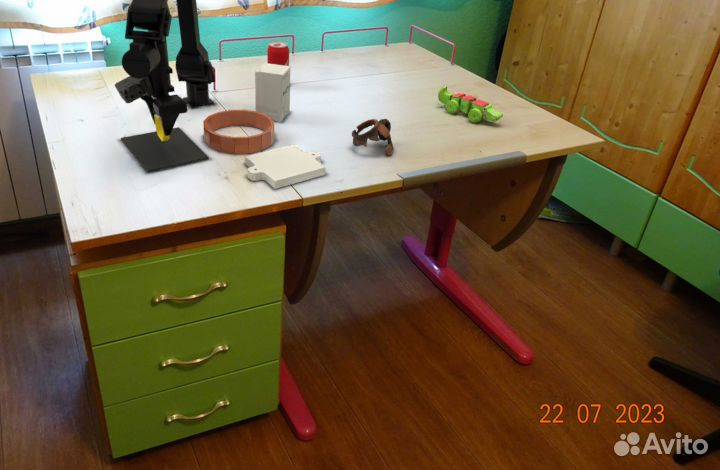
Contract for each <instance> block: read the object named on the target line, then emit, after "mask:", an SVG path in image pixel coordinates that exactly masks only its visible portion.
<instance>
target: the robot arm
mask: <svg viewBox="0 0 720 470" xmlns="http://www.w3.org/2000/svg"><path fill="white" fill-rule="evenodd" d="M168 1H169V0H131V3H130V4H129V6H128V7H127V13H126V15H127V16H126V21H125V22H126V24H125V31H124V32H125V33H124V39H125V40H132V41H130V43H129V46H128V47H129V49H128V50H127V51H125V52H124V54H123V55H122V58H121V66H122V69H123V71H124V72H125V73H126V74H127V75H128V76H127V77H125V78H123V79H121V80H118V81H117V82H116V83H115V84H114V87H115V89H116V91H117V92H118V94H119V96H120V98H121V100H123V101H124V102H125V103H126V104H131V103H133V102H134V101H136V100H138V99H141V100H142V101H143V102H145V104H146V106H147V109H148V111H149V114H150V116H151V119H152V122H153V124H154V125H155V117H154V115H155V114H156V115H158V116H159V117H160V121H161V124H162V128H163V131H164V134H165V136H169V135H170V134H171V132H172V129H173V128H175V125H176V122H177V120H178V118H179V116H180V115H181V114H186V113H188V111H189V110H188V109H189V107H190V109H191V108H192V109H194V108H200V107H206V106H211V105H212V106H213V105H214V104H215V102H214V101H213V100H212V99H211V98H210V91H209V90H210V89H209V85H212V84H213V83H216V70H215V68H214V66H213V64H212V61H211V60H210V59H209V52H208V51H207V49H206V48H205V46H204V45H203V44H202V42H201V35H200V25H199V15H198V14H199V13H198V5H197V0H175V2H176V10H177V18H178V26H179V27H178V28H179V35H180V43H181V46H180V49H179V50H178V53H177V55H176V56H175V72H176V76H177V80H178V82H184V83H185V89H186V96H185V97H181V96H180V95H178V94H176V93H175V86H174V85H173V84H172V82H171V74H173V73H174V71H173V68H172V67H171V66H170V61H169V51H168V42H167V37H168V38H169V36H170V30H171V24H172V20H173V19H172V18H173V15H172V13H171V11H170V8H169V5H168ZM170 93H175V94H170ZM188 106H189V107H188Z"/></svg>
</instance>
